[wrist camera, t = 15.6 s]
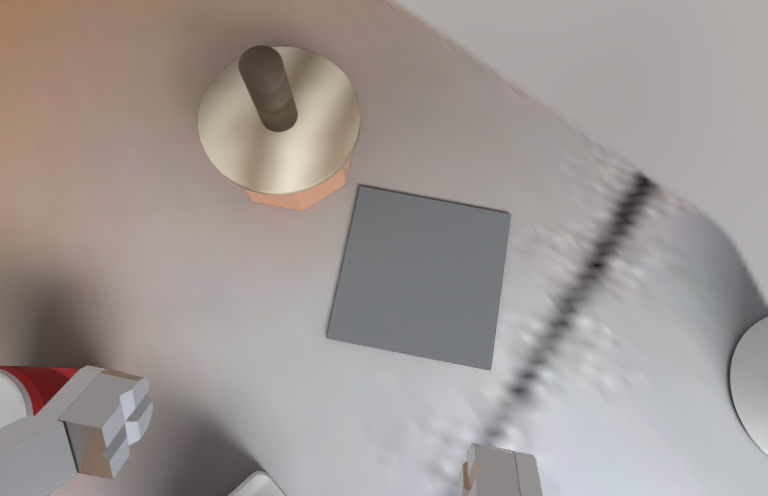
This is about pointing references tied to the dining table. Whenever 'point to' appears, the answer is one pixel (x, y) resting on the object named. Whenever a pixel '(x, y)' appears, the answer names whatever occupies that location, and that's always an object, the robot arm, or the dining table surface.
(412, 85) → the dining table surface
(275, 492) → the grey open bin
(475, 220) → the mat
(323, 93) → the lid
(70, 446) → the robot arm
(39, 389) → the canned food
